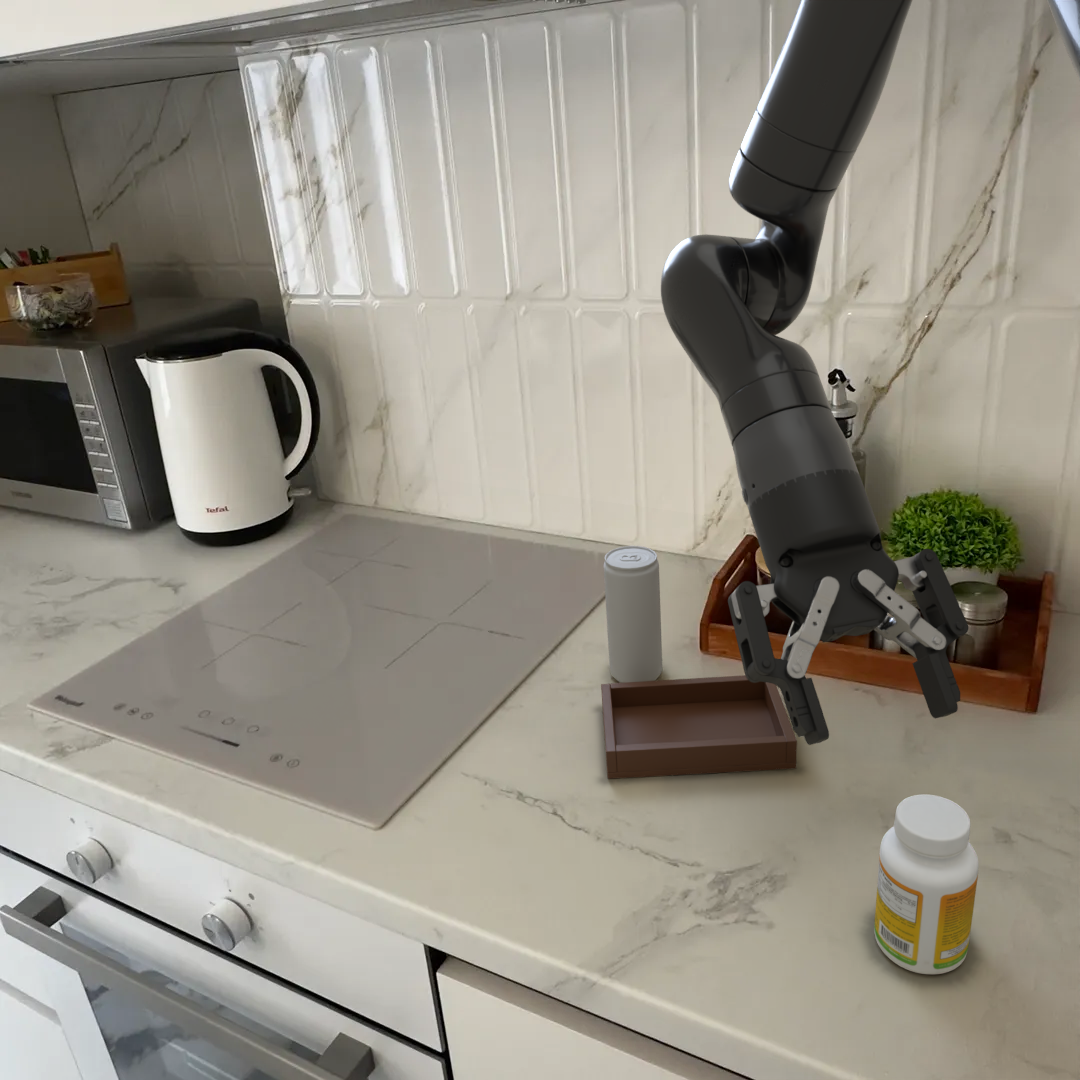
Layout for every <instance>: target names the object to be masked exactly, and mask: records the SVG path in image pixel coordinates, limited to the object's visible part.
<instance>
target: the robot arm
mask: <svg viewBox="0 0 1080 1080" xmlns="http://www.w3.org/2000/svg"><path fill="white" fill-rule="evenodd" d="M1046 2H1047V5H1048V6H1049V10H1050V12H1051V16H1052V17H1053V20H1054V23H1055V26H1056V29H1057V32H1058V34H1059V36H1060V39H1061V41H1062V44H1063V46H1064V48H1065V50H1066V53H1067V55H1068V58H1069V60H1070V62H1071V65H1072V67H1073V69H1074V72H1075V73H1076V75H1077V77H1078V80H1079V81H1080V0H1046ZM912 3H913V0H799V3H798V6H797V8H796V11H795V13H794V16H793V19H792V21H791V23H790V24H791V25H790V27H789V29H788V31H787V34H786V37H785V40H784V41H783V45H782V47H781V50H780V52H779V54H778V56H777V59H776V62H775V63H774V66H773V69H772V71H771V74H770V76H769V78H768V79H767V80H768V81H767V83H766V85H765V88H764V89H763V92H762V93H761V94H762V95H761V96H760V99H759V102H758V104H757V106H756V108H755V110H754V113H753V116H752V117H751V120H750V122H749V124H748V127H747V130H746V131H745V134H744V137H743V139H742V142H741V144H740V147H739V148H738V151H737V154H736V156H735V158H734V161H733V164H732V167H731V169H730V173H729V178H728V190H729V194H730V196H731V198H732V199H733V201H734V202H735V203H736V204H737V205H738V206H739V207H740V208H741V209H743V210H744V211H745V212H747V214H750V215H751V216H753V217H755V218H757V219H759V220H761V225H760V228H759V230H758V233H756V236H755V237H754V238H749V237H748V238H747V237H738V236H728V235H727V236H726V235H719V234H706V233H705V234H696V235H692V236H689V237H687V238H684V239H683V240H681V241H680V242H679V243H678V244H677V245H676V246H674V247H673V249H672V250H671V251H670V253H669V254H668V256H667V258H666V260H665V262H664V266H663V268H662V273H661V277H660V298H661V305H662V308H663V312H664V316H665V318H666V320H667V323H668V325H669V328H670V329H671V332H672V333H673V335H674V336H675V338H676V340H677V341H678V343H679V344H680V346H681V348H682V349H683V350H684V352H685V353H686V355H687V356H688V358H689V360H690V361H691V363H692V364H693V366H694V367H695V369H696V370H697V372H698V373H699V375H700V376H701V378H702V379H703V381H704V382H705V383H706V385H707V386H708V387H709V389H710V390H711V391H712V393H713V394H714V397H715V398H716V399H717V402H718V405H719V408H720V409H719V410H720V413H721V416H722V420H723V422H724V425H725V428H726V432H727V435H728V439H729V441H730V444H731V447H732V451H733V455H734V460H735V466H736V467H735V468H736V474H737V477H738V481H739V485H740V488H741V495H742V496H741V497H742V499H743V503H745V505H746V506H747V510H748V513H749V517H750V519H751V523H752V526H753V529H754V532H755V535H756V538H757V542H758V545H759V549H760V551H761V554H762V557H763V560H764V564H765V566H766V568H767V571H768V572H769V575H770V583H766V584H759V585H756V584H755V583H754V582H752V581H750V580H744V581H742V582H741V583H740V584H739V585H738V586H737V587H736V588H735V589H734V591H733V592H732V593H731V594H730V595H729V596H728V599H727V603H728V608H729V612H730V617H731V621H732V624H733V629H734V633H735V637H736V643H737V647H738V650H739V654H740V659H741V663H742V668H743V673H744V675H745V676H746V678H747V679H748V680H749V681H750V682H753V683H757V682H760V681H761V682H767V683H773V684H775V685H776V686H777V688H778V689H779V691H781V694H782V698H783V701H784V704H785V707H786V708H785V709H786V712H787V714H788V718H789V721H790V724H791V726H792V729H793V732H794V734H795V735H797V737H798V738H801V737H803V739H804V741H805V743H806V744H807V745H808V746H812V745H816V744H820V743H822V742H825V741H826V740H828V739H829V738H830V731H829V728H828V724H827V722H826V719H825V715H824V712H823V709H822V705H821V703H820V700H819V697H818V694H817V691H816V687H815V684H814V680H813V677H807V676H806V673H807V670H808V668H809V665H810V663H811V660H812V657H813V654H814V651H815V649H816V647H817V646H818V645H819V643H820V640H821V641H822V643H827V642H833V641H835V640H838V639H840V638H842V637H843V636H852V637H859V636H863V635H868V634H869V633H871V632H872V631H875V632H876V633H877V634H878V635H879V636H881V637H882V638H883V639H885V640H887V641H891V642H894V643H896V644H897V645H898V646H900V647H901V648H902V649H903V650H905V651H906V652H907V653H908V654H910V655H911V656H912V657H913V658H914V659H916V661H914V662H912V667H913V669H914V672H915V676H916V678H917V680H918V683H919V687H920V688H921V692H922V695H923V697H924V700H925V703H926V706H927V708H928V711H929V714H930V716H931V717H932V718H933V719H939V718H944V717H947V716H950V715H953V714H955V713H956V712H958V711H959V705H958V703H959V702H961V690H960V688H959V685H958V683H957V680H956V677H955V675H954V672H953V669H952V667H951V663H950V661H949V658H948V655H947V649H948V647H949V645H950V644H952V643H953V642H955V641H956V640H958V639H959V638H961V637H963V636H964V635H966V634H967V633H968V631H969V624H968V621H967V620H966V617H965V615H964V613H963V611H962V608H961V605H960V603H959V601H958V600H957V597H956V594H955V593H954V590H953V588H952V586H951V583H950V581H949V580H948V577H947V574H946V572H945V570H944V568H943V566H942V563H941V562H940V559H939V557H938V555H937V553H936V552H935V551H934V550H933V549H930V548H924V549H922V550H921V551H919V552H918V553H916V554H915V555H913V556H909V557H906V558H903V559H902V558H901V559H898V560H893V559H892V558H891V557H890V556H889V554H888V553H886V551H885V549H884V547H883V543H882V536H881V531H880V527H879V524H878V521H877V519H876V516H875V514H874V510H873V507H872V506H871V502H870V500H869V497H868V494H867V492H866V489H865V487H864V486H865V485H864V484H863V480H862V478H861V475H860V473H859V470H858V467H857V464H856V461H855V459H854V456H853V454H852V450H851V448H850V445H849V443H848V441H847V438H846V436H845V434H844V432H843V431H842V429H841V427H840V425H839V423H838V421H837V420H836V417H835V415H834V413H833V411H832V410H833V409H832V408H831V405H830V402H829V399H828V396H827V394H826V391H825V388H824V385H823V383H822V381H821V378H820V374H819V371H818V369H817V366H816V365H815V362H814V360H813V358H812V356H811V354H810V353H809V352H808V351H807V350H806V349H805V348H804V347H803V346H802V345H800V344H798V343H797V342H794V341H791V340H789V339H786V338H783V337H780V336H778V335H779V334H781V333H782V332H784V331H785V330H786V329H788V328H789V327H790V326H791V325H792V324H793V323H794V322H795V320H797V318H798V317H799V315H800V314H801V313H802V311H803V309H804V308H805V306H806V304H807V301H808V299H809V297H810V292H811V289H812V286H813V280H814V276H815V272H816V271H815V270H816V267H817V261H818V255H819V251H820V248H821V243H822V240H823V235H824V231H825V226H826V225H825V224H826V219H827V216H828V211H829V206H830V204H831V201H832V199H833V197H835V196H834V195H835V194H836V192H837V190H838V188H839V186H840V184H841V182H842V180H843V179H844V177H845V175H846V173H847V170H848V168H849V166H850V164H851V162H852V160H853V158H854V156H855V154H856V152H857V150H858V149H859V146H860V144H861V142H862V140H863V138H864V136H865V134H866V132H867V129H868V128H869V125H870V123H871V121H872V118H873V116H874V114H875V111H876V109H877V106H878V104H879V101H880V98H881V96H882V94H883V91H884V88H885V85H886V83H887V80H888V76H889V74H890V70H891V68H892V67H891V66H892V64H893V60H894V57H895V54H896V50H897V47H898V45H899V41H900V38H901V34H902V31H903V28H904V24H905V23H906V20H907V18H908V17H907V16H908V15H909V11H910V8H911V6H912ZM898 581H901V582H902V584H903V588H904V589H905V590H909V591H910V592H912V594H913V596H914V599H915V601H916V603H917V605H918V608H919V610H920V611H919V610H918V609H917V608H916V607H915V606H914V605H913V604H911V603H910V602H909V601H908V600H907V599H905V598H904V597H903V596H901V595H900V594H898V593H897V592H896V591H895V589H896V587H897V583H898ZM770 603H772V604H773V605H774V606H775V608H777V609H778V610H780V611H781V612H782V613H783V614H784V615H785V616H787V617H788V618H789V619H790V620H791V621H792V622H791V625H790V627H789V630H788V633H787V636H786V638H785V641H784V644H783V646H782V654H781V656H780V658H776V657H775V655H774V651H773V646H772V643H771V639H770V635H769V631H768V626H767V623H766V618H765V617H766V616H768V614H769V613H770V610H771V609H770V607H771V606H770V605H771V604H770ZM888 614H889V615H888ZM921 615H922V616H921Z"/></svg>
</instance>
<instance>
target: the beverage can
mask: <svg viewBox="0 0 1080 1080" xmlns="http://www.w3.org/2000/svg"><path fill="white" fill-rule="evenodd" d="M603 579H604V594H605V595H604V596H605V614H606V629H607V630H606V631H607V647H608V661H609V662H608V664H609V665H608V666H609V673H610V675H611V676H612V677H613V678H614V680H615V681H617V682H618V683H625V682H641V681H657V679H658V678H659V677H660V675H662V671H663V647H662V646H663V644H662V643H663V642H662V641H663V640H662V616H661V615H662V612H661V585H660V584H661V583H660V581H661V580H660V564H659V559H658V554H657V552H656V551H655V550H654V549H651V548H649V547H646V546H641V545H625V546H618V547H616V548H613V549H611V550H609V551H608V552H607V553H605V555H604V562H603Z"/></svg>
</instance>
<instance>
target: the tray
mask: <svg viewBox="0 0 1080 1080" xmlns="http://www.w3.org/2000/svg"><path fill="white" fill-rule="evenodd" d="M600 690H601V691H600V693H601V705H602V707H601V708H602V720H603V734H604V747H605V748H604V749H605V761H606V762H605V763H606V773H607V774H606V775H607V777H606V778H607V779H608V780H609V779H611V780H612V779H629V778H630V779H631V778H646V777H648V778H649V777H665V776H683V775H684V776H685V775H699V774H700V775H701V774H702V775H704V774H718V773H720V774H722V773H738V772H756V771H759V772H760V771H775V770H793V769H797V752H798V751H797V750H798V740H797V737H796V734H795V731H794V730H793V727H792V724H791V720H790V717H789V715H788V712H787V709H786V708H785V705H784V702H783V700H782V697H781V694H780V690H779V688H778V686H776V685H775V684H773V683H767V682H761V681H760V682H757V683H753V682H750V681H749V680H748V679H747V678H746V676H745V674H744V675H728V676H726V675H725V676H712V677H693V678H678V679H661V680H659V679H658V680H655V681H641V682H625V683H620V682H611V683H601V684H600Z"/></svg>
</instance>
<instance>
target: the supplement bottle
mask: <svg viewBox="0 0 1080 1080" xmlns="http://www.w3.org/2000/svg"><path fill="white" fill-rule="evenodd" d="M970 834H971V819H970V816H969V814H968V813H967V811H966V810H965V809H964V808H963V807H962V806H961V805H959V804H958V803H956V802H955V801H953V800H951V799H949V798H946V797H943V796H940V795H937V794H929V793H928V794H926V793H925V794H923V793H920V794H914V795H911V796H907V797H906V798H904V799H902V800H901V801H900V802H899V803H898V804H897V806H896V809H895V815H894V822H893V826H892V827H890V828H889V829H888V830H887V831H886V832H885V834H884V835H883V837H882V839H881V842H880V846H879V854H878V872H877V886H876V899H875V912H874V925H873V928H874V929H873V932H874V938H875V941H876V943H877V945H878V947H879V949H880V950H881V951H882V953H883V954H884V956H886V957H887V958H888V959H889V960H890V961H892V962H893V963H894V964H896V965H897V966H899V967H901V968H903V969H905V970H908V971H910V972H913V973H916V974H922V975H940V974H946V973H948V972H951V971H954V970H956V969H957V968H958V967H959V966H960V965H962V964H963V962H964V961H965V960H966V957H967V954H968V950H969V946H970V940H971V939H970V938H971V930H972V922H973V916H974V907H975V899H976V894H977V886H978V885H977V884H978V878H979V857H978V855H977V852H976V850H975V848H974V847H973V845H972V843H971V842H970V836H971V835H970Z"/></svg>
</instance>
